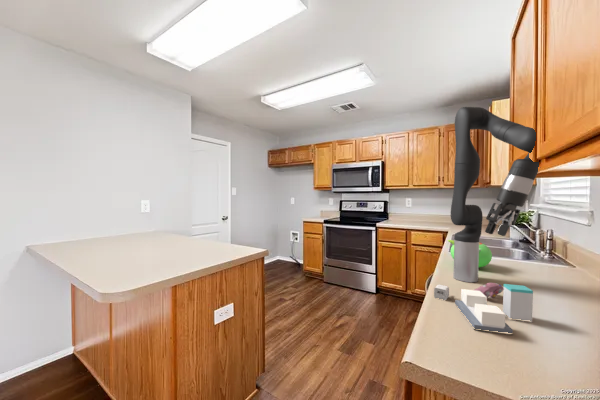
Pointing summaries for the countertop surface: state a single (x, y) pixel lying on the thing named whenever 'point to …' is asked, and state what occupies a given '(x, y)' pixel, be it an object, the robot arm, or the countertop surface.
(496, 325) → the board
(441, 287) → the usb wall charger
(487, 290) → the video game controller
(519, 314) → the teal and white module
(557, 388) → the countertop surface
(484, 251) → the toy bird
